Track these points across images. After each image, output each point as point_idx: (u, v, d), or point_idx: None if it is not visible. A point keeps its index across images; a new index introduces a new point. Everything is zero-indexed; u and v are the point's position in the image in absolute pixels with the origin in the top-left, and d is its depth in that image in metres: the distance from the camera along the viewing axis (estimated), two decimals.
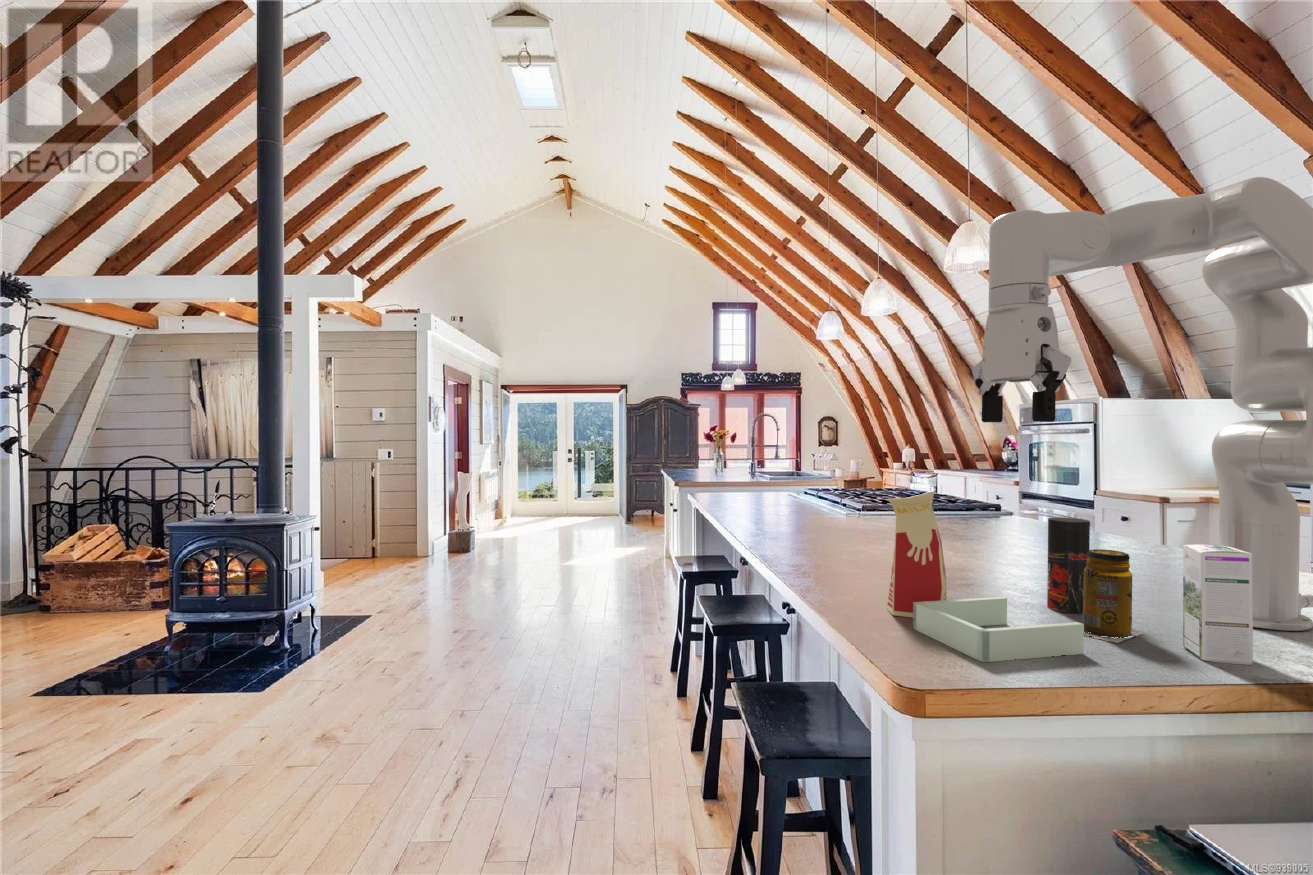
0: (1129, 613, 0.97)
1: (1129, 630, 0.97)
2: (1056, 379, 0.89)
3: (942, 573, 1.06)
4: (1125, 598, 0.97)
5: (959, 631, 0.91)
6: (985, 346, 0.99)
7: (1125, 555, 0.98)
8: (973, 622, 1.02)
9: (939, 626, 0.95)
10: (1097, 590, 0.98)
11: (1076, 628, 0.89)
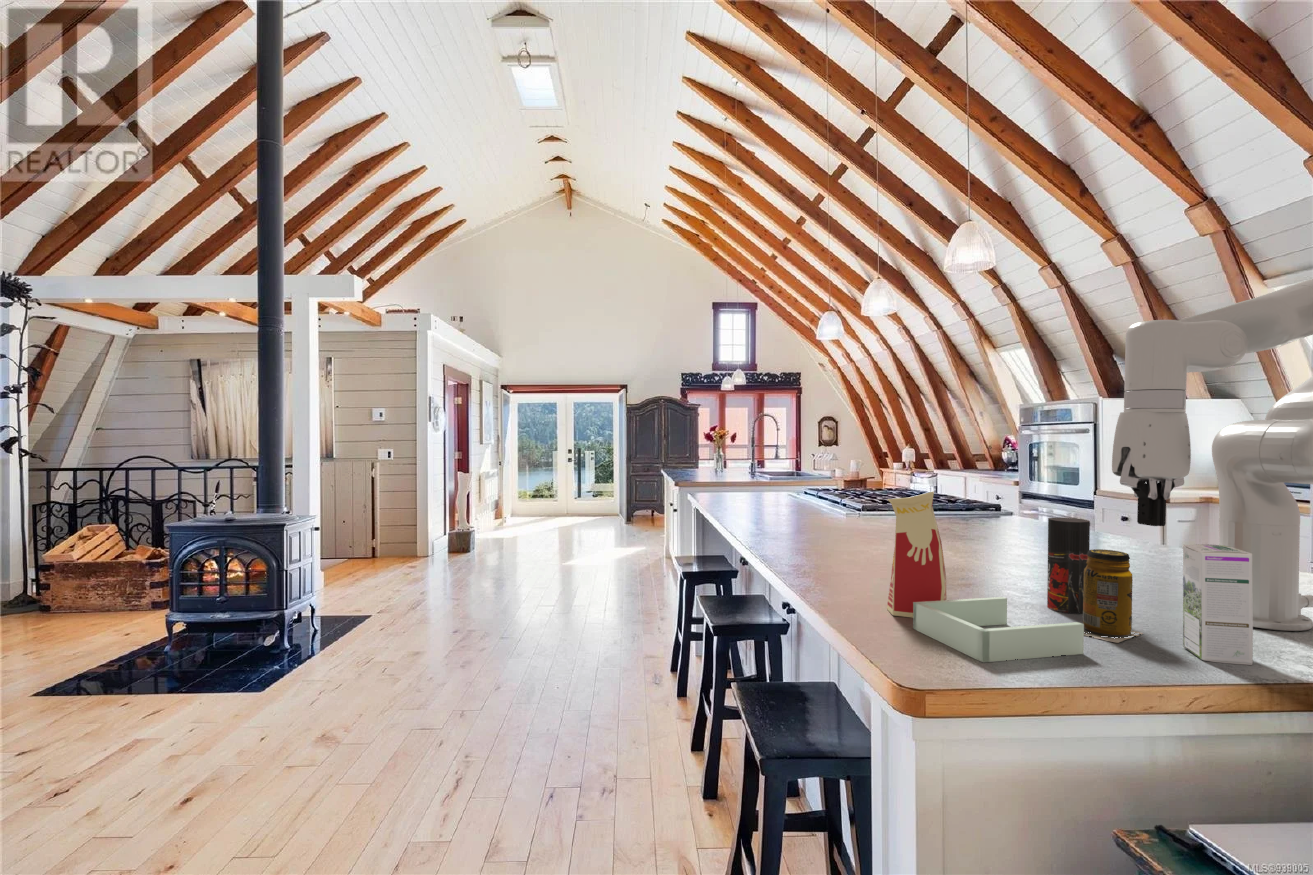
0: (1129, 613, 0.97)
1: (1129, 630, 0.97)
2: None
3: (942, 573, 1.06)
4: (1125, 598, 0.97)
5: (959, 631, 0.91)
6: (1146, 443, 0.98)
7: (1125, 555, 0.98)
8: (973, 622, 1.02)
9: (939, 626, 0.95)
10: (1097, 590, 0.98)
11: (1076, 628, 0.89)
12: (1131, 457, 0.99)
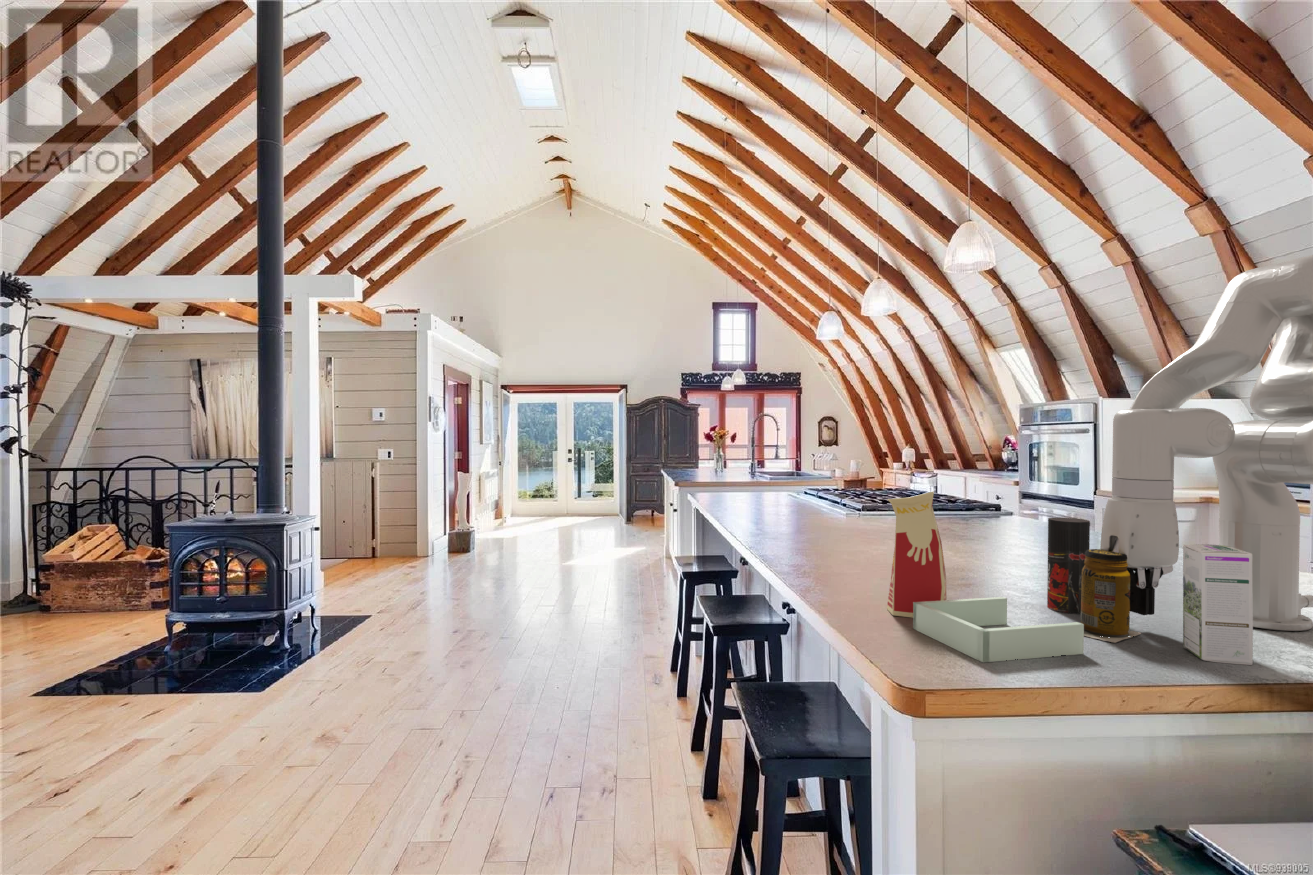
0: (1127, 613, 0.97)
1: (1127, 630, 0.97)
2: None
3: (942, 573, 1.06)
4: (1123, 598, 0.97)
5: (959, 631, 0.91)
6: (1134, 533, 0.98)
7: (1123, 555, 0.97)
8: (973, 622, 1.02)
9: (939, 626, 0.95)
10: (1095, 590, 0.98)
11: (1076, 628, 0.89)
12: (1119, 547, 0.99)
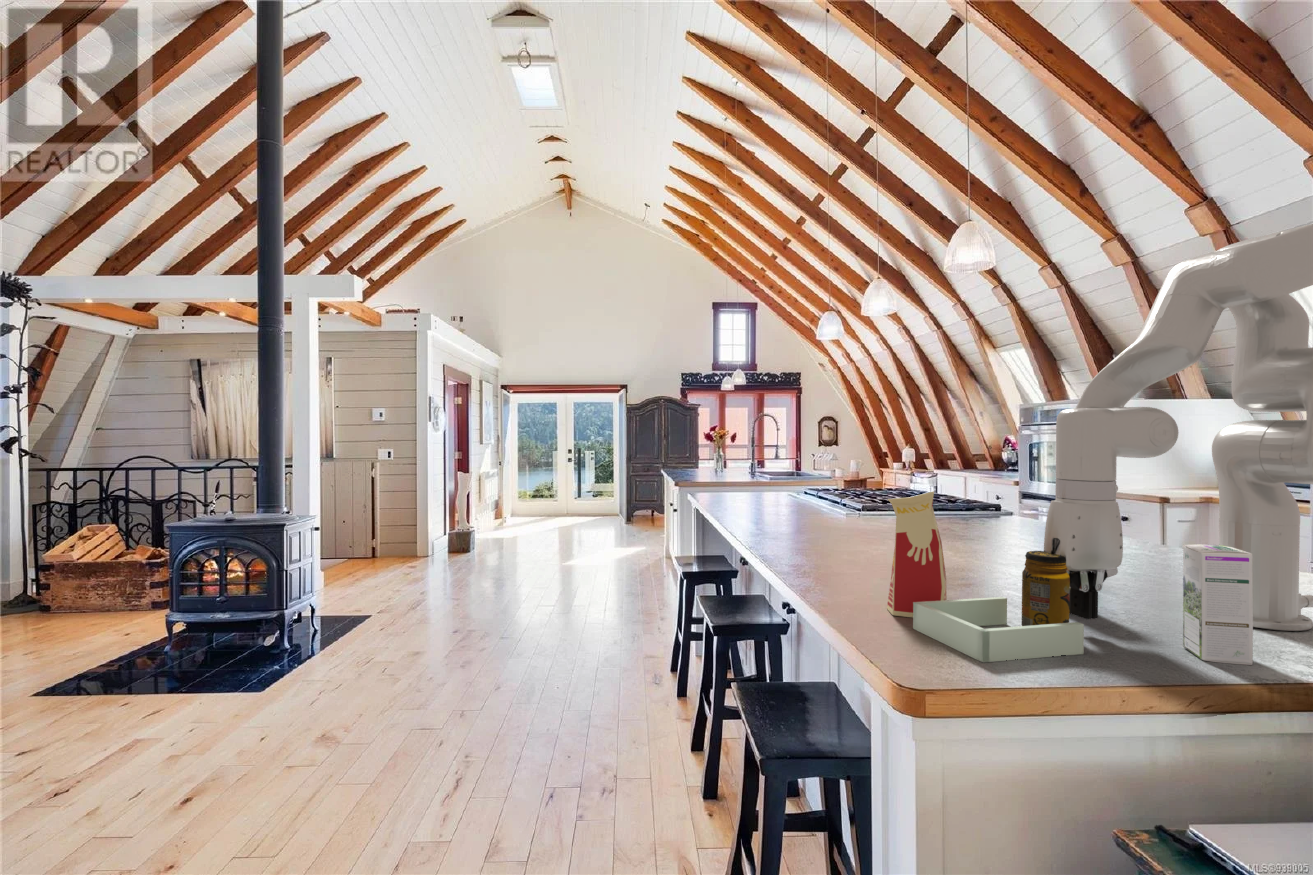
0: (1063, 616, 0.95)
1: None
2: None
3: (942, 573, 1.06)
4: (1058, 601, 0.95)
5: (959, 631, 0.91)
6: (1075, 535, 0.96)
7: (1060, 557, 0.95)
8: (973, 622, 1.02)
9: (939, 626, 0.95)
10: (1030, 592, 0.97)
11: (1076, 628, 0.89)
12: (1061, 549, 0.97)
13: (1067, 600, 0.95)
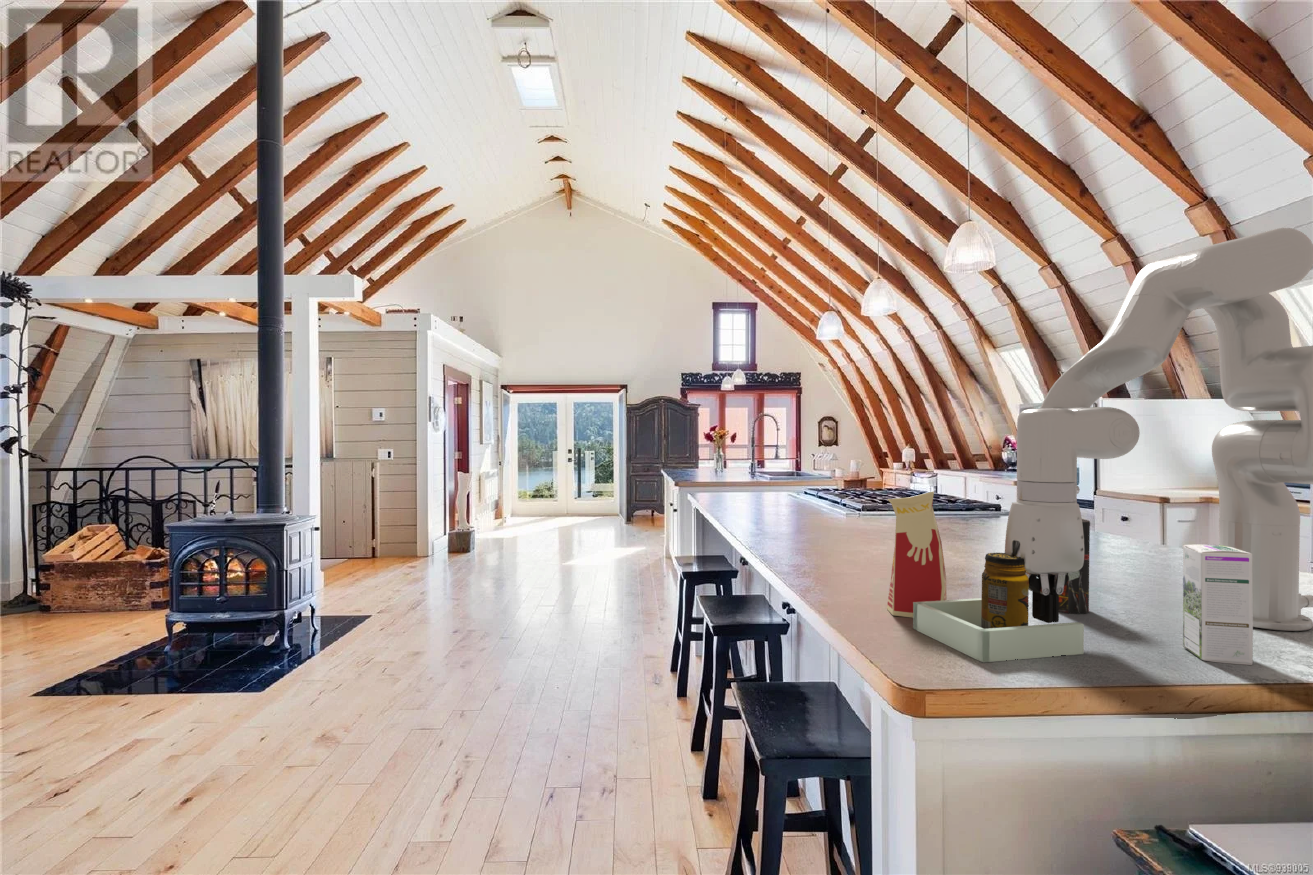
0: (1021, 619, 0.94)
1: None
2: None
3: (942, 573, 1.06)
4: (1015, 603, 0.93)
5: (959, 631, 0.91)
6: (1035, 538, 0.94)
7: (1018, 559, 0.94)
8: (973, 622, 1.02)
9: (939, 626, 0.95)
10: (988, 594, 0.95)
11: (1076, 628, 0.89)
12: (1021, 552, 0.95)
13: (1025, 603, 0.94)
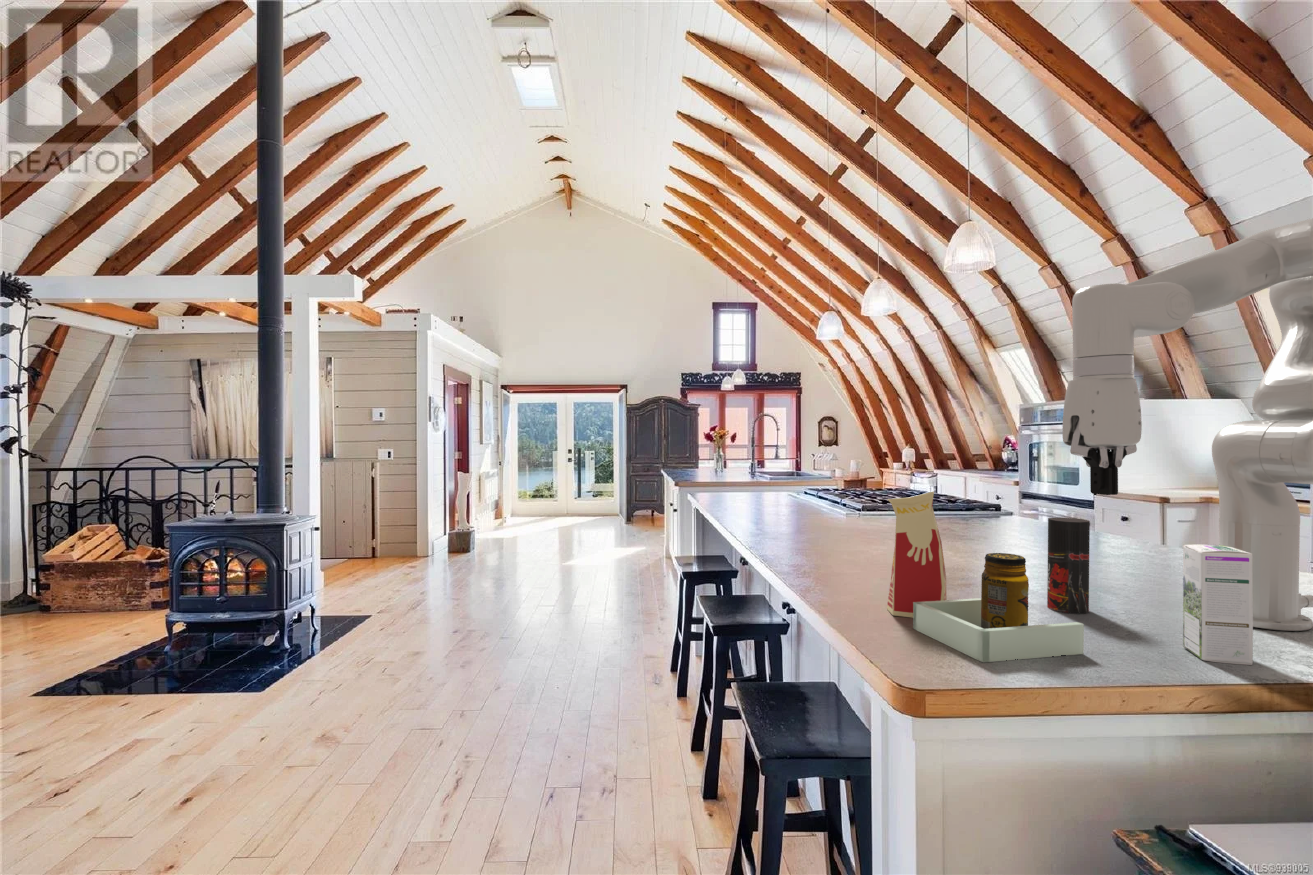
0: (1021, 620, 0.94)
1: None
2: None
3: (942, 573, 1.06)
4: (1015, 604, 0.93)
5: (959, 631, 0.91)
6: (1094, 410, 0.96)
7: (1017, 559, 0.94)
8: (973, 622, 1.02)
9: (939, 626, 0.95)
10: (988, 594, 0.95)
11: (1076, 628, 0.89)
12: (1080, 426, 0.97)
13: (1025, 603, 0.94)
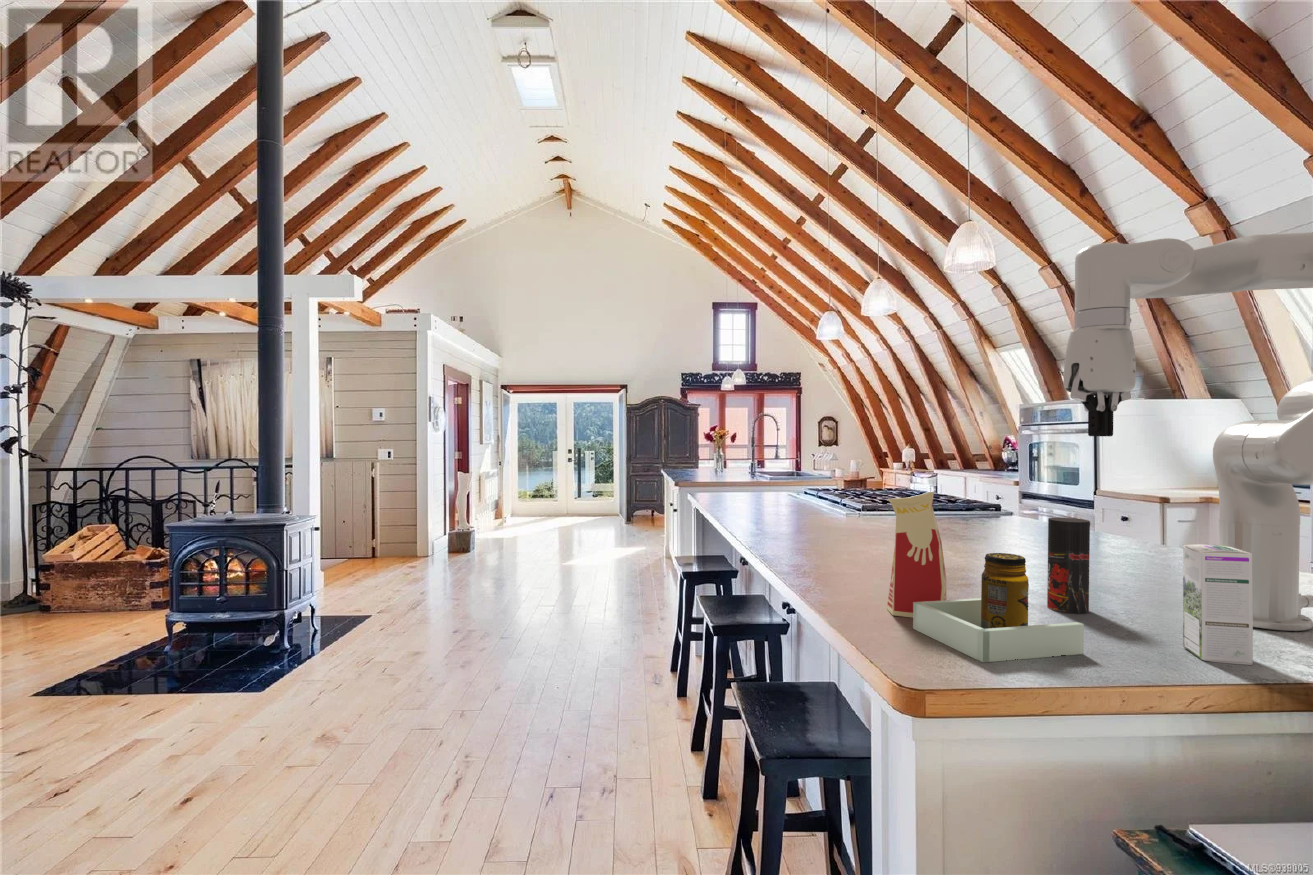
0: (1021, 620, 0.94)
1: None
2: None
3: (942, 573, 1.06)
4: (1015, 604, 0.93)
5: (959, 631, 0.91)
6: (1093, 357, 1.05)
7: (1017, 559, 0.94)
8: (973, 622, 1.02)
9: (939, 626, 0.95)
10: (988, 594, 0.95)
11: (1076, 628, 0.89)
12: (1080, 372, 1.06)
13: (1025, 603, 0.94)
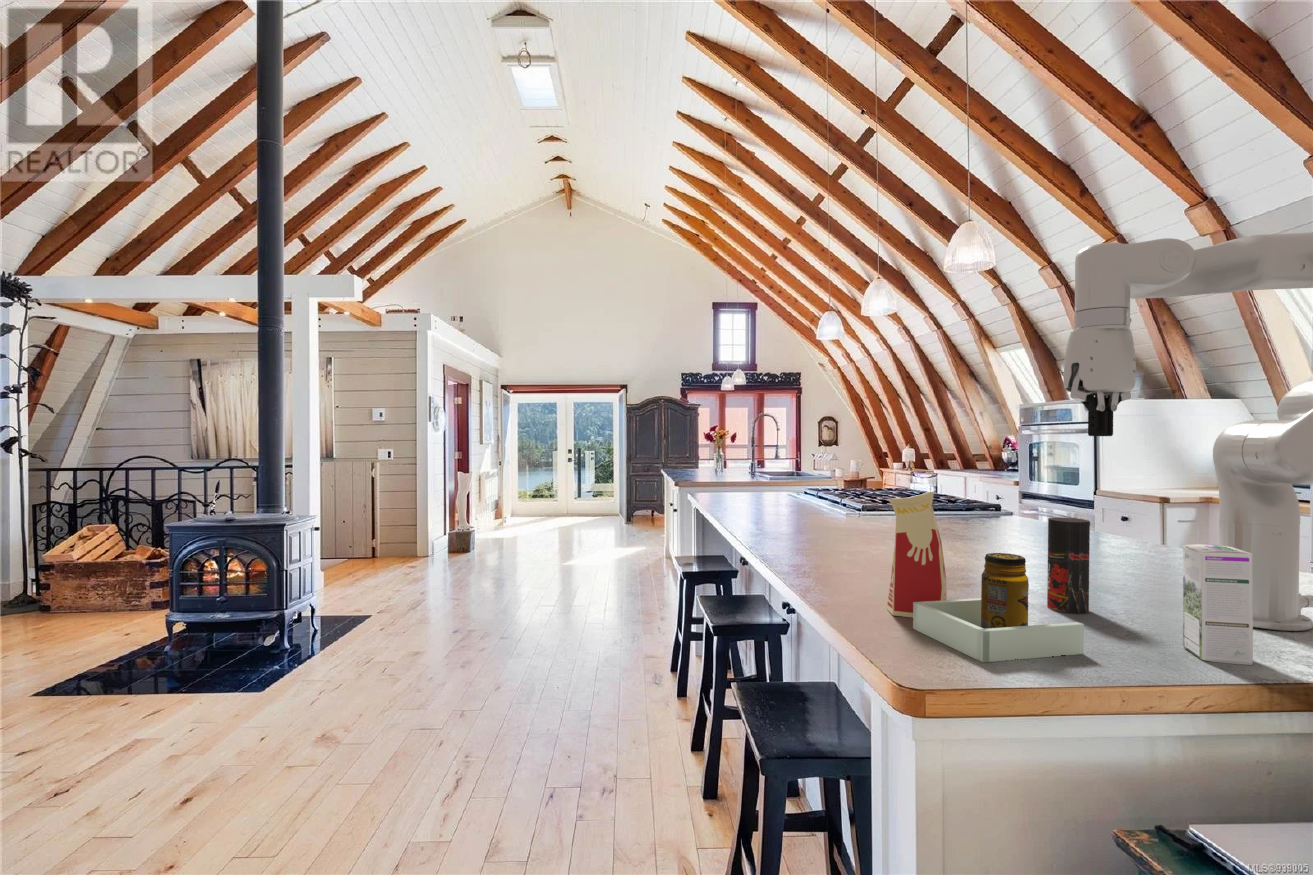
0: (1021, 620, 0.94)
1: None
2: None
3: (942, 573, 1.06)
4: (1015, 604, 0.93)
5: (959, 631, 0.91)
6: (1093, 357, 1.05)
7: (1017, 559, 0.94)
8: (973, 622, 1.02)
9: (939, 626, 0.95)
10: (988, 594, 0.95)
11: (1076, 628, 0.89)
12: (1080, 371, 1.06)
13: (1025, 603, 0.94)
